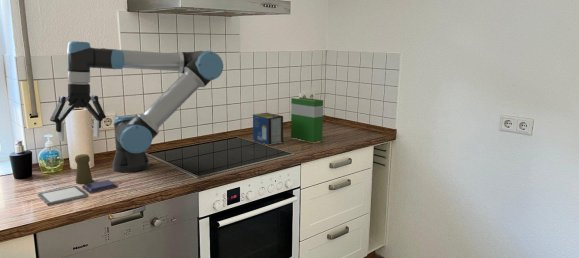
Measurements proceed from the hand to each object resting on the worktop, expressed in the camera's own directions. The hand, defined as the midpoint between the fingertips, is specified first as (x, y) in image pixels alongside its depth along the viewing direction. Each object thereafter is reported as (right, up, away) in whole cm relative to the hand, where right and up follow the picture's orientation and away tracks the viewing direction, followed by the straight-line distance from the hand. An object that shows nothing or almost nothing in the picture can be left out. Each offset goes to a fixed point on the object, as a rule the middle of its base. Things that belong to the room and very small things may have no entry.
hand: (79, 138), depth 160 cm
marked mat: (0, -20, -11) cm, 23 cm away
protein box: (+68, -4, +76) cm, 102 cm away
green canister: (+91, -3, +80) cm, 121 cm away
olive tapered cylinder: (0, -17, +5) cm, 18 cm away
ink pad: (+9, -19, -2) cm, 21 cm away
